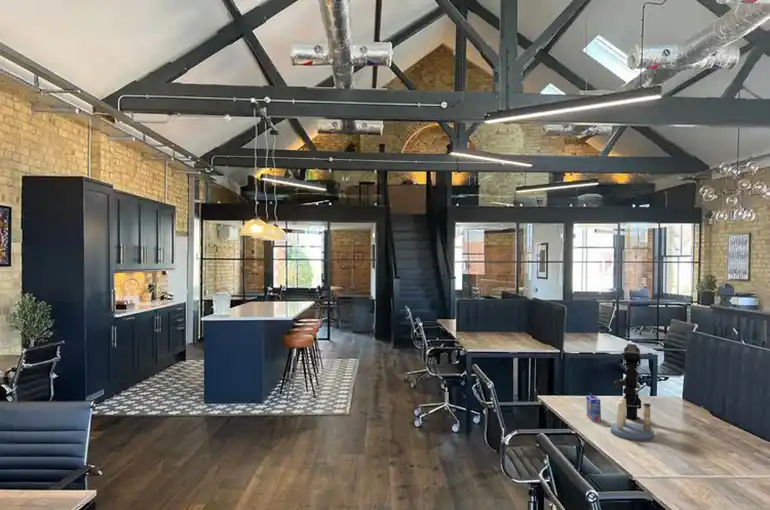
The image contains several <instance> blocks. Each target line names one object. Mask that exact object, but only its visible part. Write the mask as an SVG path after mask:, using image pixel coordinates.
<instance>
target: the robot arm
mask: <svg viewBox="0 0 770 510" xmlns="http://www.w3.org/2000/svg"><path fill="white" fill-rule="evenodd" d="M641 361H642V359H641V349H640V348H638V347H637V344H632V343H628V344H626V346H625V347H624V348H623V366H625V377H624V378H622V379H616V380H615V381H614V383H613V384H614V386H615V388H616V389H617V388H618V389H619V388H620V387H624V388H623V389H622V393H623V394H624V396H623V398H624V399H626V419H629V420H634V421H635V420H636V421H637V420H639V419H641V417H640V416H638V410H641V409H642V400H641V398H640V397H639V394H638V393H639V390H640V389H641V387H640V385H641V384H640V383H638V380H639V377H638V373H639V371H638V367H640V366H641V365H642V364H641V363H642V362H641Z"/></svg>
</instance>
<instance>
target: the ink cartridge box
mask: <svg viewBox="0 0 770 510" xmlns="http://www.w3.org/2000/svg"><path fill="white" fill-rule="evenodd" d="M585 398H586V400H585V401H586V417H587V416H588V417H589V418H590V419H591V420H593V421H592V422H602V413H601V411H602V410H601V399H600V398H598V397H597V396H596V395H593V393H591V392H589V395H588V394H586V397H585ZM588 417H587V418H588ZM589 418H588V419H589ZM590 419H589V420H590ZM591 420H590V421H591Z"/></svg>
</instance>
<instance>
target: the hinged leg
mask: <svg viewBox="0 0 770 510" xmlns="http://www.w3.org/2000/svg"><path fill="white" fill-rule="evenodd" d="M642 405H643V429H649V430H651V403H649V402H648V403H647V402H645V403H643V404H642Z"/></svg>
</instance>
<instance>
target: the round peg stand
mask: <svg viewBox="0 0 770 510" xmlns="http://www.w3.org/2000/svg"><path fill="white" fill-rule="evenodd" d="M643 426H644V424H637V423H633V422H632V423H631V422H627V418H626V399H624V397H620V398H619V401H617V402H616V422H615V423H612V424H611V425H610V433H611V434H612V435H613V436H615V437H618V438H621V439H625V440H629V441H636V440H637V441H638V442H640V441H641V442H647V441H651V440H653V439H655V438H654V437H655V435H654V434H655V433H654V432H655V430H653V429H654V428H653V425H650V427H651V430H649V429H643ZM637 441H636V442H637Z"/></svg>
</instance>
